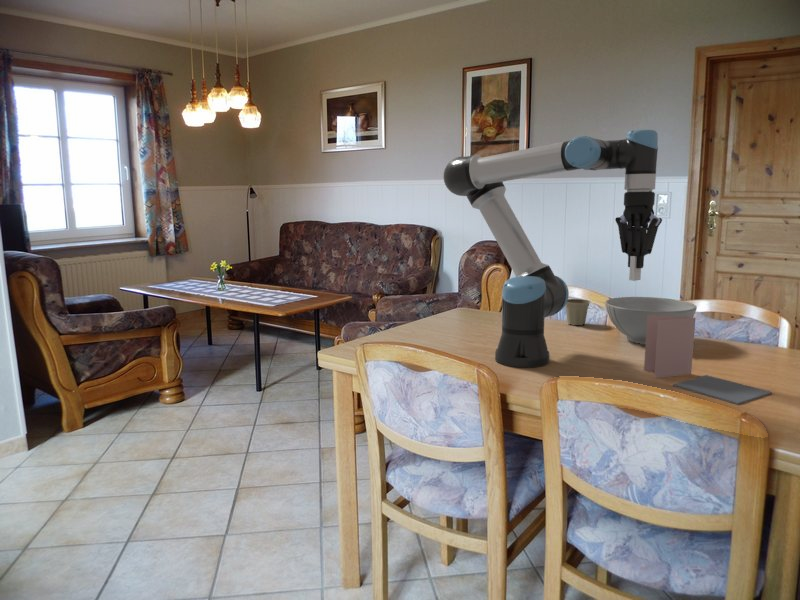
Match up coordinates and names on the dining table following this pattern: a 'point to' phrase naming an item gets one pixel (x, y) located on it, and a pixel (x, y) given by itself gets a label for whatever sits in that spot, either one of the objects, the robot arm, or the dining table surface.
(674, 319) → the greeting card
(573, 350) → the dining table surface
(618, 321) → the decorative bowl
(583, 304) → the flower pot
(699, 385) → the mat
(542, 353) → the robot arm
